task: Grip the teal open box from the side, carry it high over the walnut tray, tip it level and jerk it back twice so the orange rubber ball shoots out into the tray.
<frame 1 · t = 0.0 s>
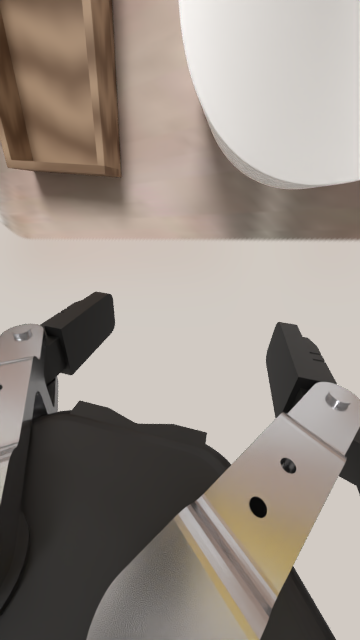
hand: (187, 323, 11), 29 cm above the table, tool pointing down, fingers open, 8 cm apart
tray: (61, 69, 30), on the table
plate stack: (325, 42, 24), on the table
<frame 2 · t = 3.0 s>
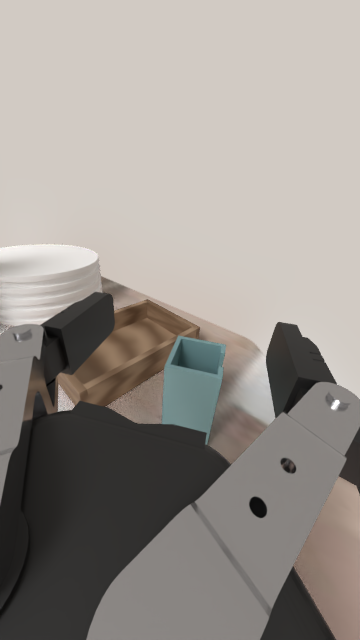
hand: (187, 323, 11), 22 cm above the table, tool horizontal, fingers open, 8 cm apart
tray: (125, 353, 43), on the table
plate stack: (49, 299, 60), on the table
teal open box: (188, 421, 31), on the table, touching ball
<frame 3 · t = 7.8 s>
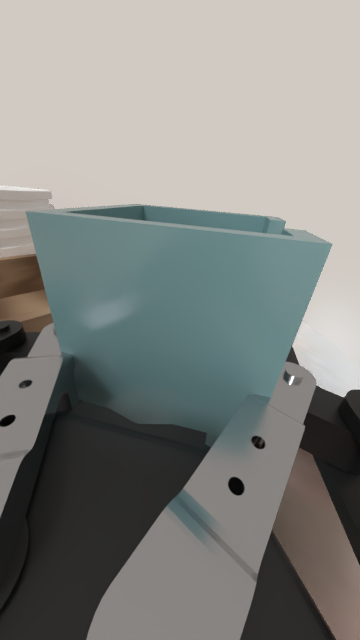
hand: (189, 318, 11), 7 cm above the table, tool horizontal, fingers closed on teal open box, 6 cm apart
tray: (67, 316, 24), on the table
teal open box: (170, 444, 13), on the table, touching ball, gripper
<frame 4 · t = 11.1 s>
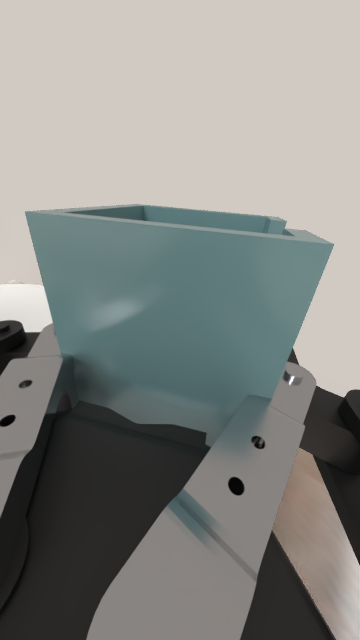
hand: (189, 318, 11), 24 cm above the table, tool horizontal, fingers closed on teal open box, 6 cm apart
plate stack: (2, 372, 40), on the table
teal open box: (171, 444, 13), point 17 cm above the table, touching ball, gripper
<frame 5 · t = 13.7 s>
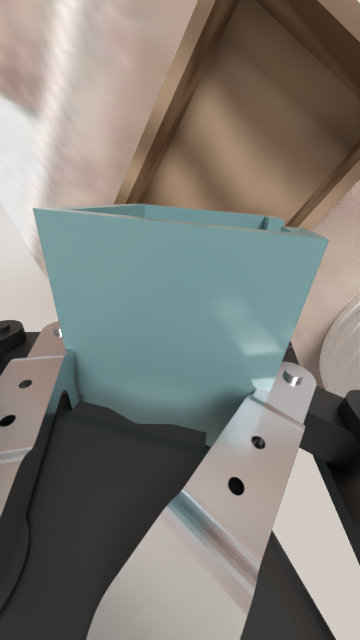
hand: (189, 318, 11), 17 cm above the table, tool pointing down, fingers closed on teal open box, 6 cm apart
tray: (223, 194, 23), on the table
teal open box: (171, 441, 13), point 20 cm above the table, tilted 90°, touching ball, gripper
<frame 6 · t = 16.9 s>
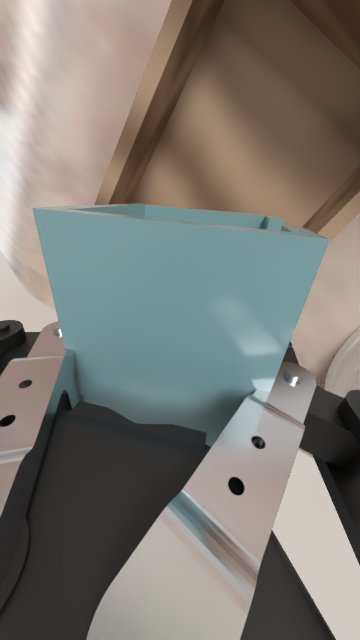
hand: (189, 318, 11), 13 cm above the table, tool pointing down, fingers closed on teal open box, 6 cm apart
tray: (220, 202, 20), on the table
teal open box: (171, 441, 13), point 16 cm above the table, tilted 90°, touching ball, gripper
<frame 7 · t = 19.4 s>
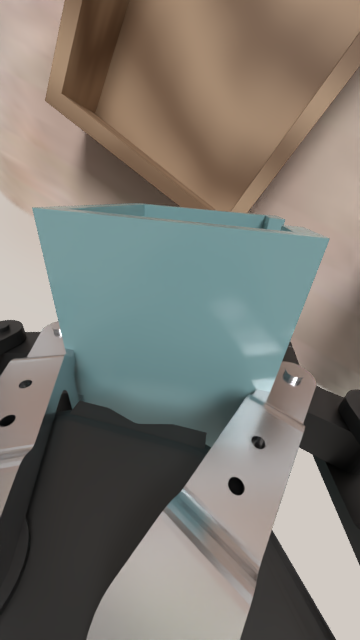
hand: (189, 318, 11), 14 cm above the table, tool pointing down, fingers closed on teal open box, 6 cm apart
teal open box: (171, 441, 13), point 16 cm above the table, tilted 90°, touching gripper
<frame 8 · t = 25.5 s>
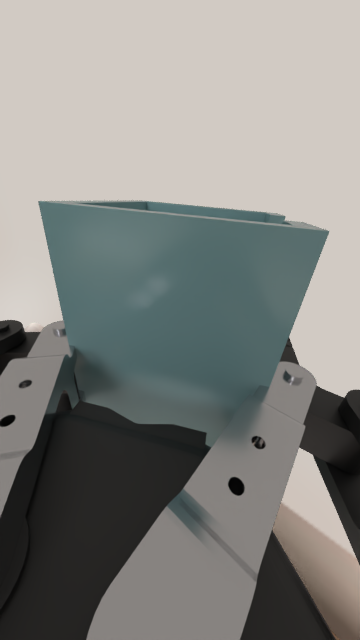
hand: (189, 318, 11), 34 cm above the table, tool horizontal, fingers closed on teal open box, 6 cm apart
teal open box: (171, 437, 13), point 27 cm above the table, touching gripper
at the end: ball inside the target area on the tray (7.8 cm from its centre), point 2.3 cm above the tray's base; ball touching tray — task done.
